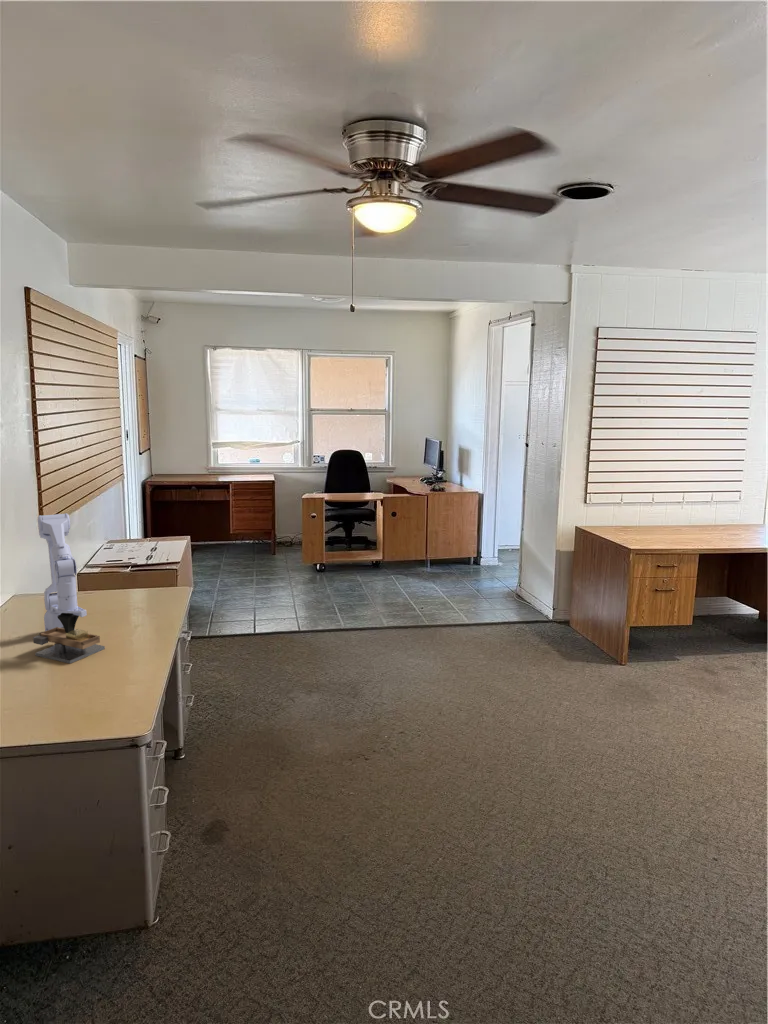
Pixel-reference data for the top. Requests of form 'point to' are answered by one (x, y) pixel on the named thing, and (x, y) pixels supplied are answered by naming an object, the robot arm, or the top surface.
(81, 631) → the yellow block
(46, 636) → the brown wooden tray
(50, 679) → the top surface
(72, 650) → the pivot stand
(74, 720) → the top surface
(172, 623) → the top surface
